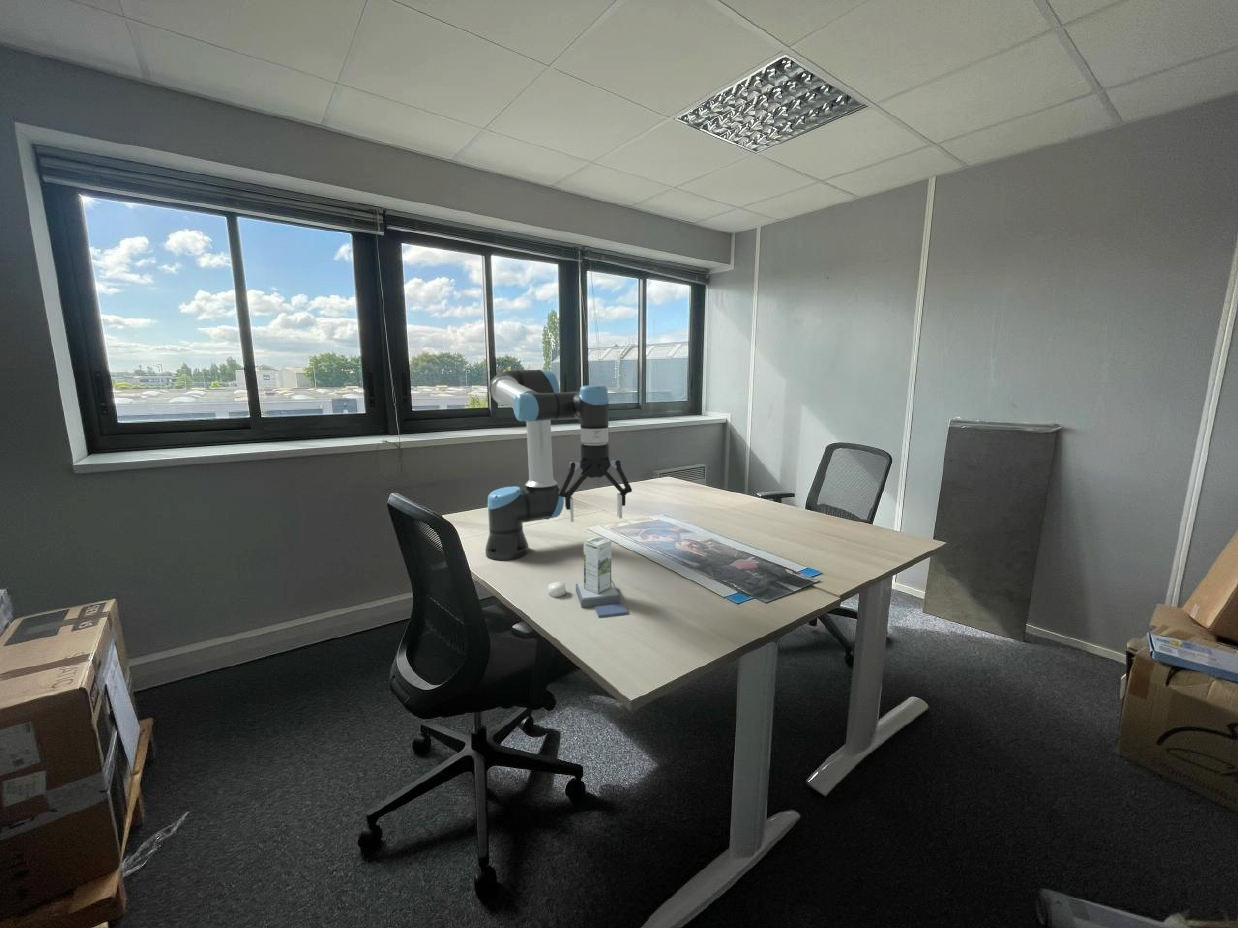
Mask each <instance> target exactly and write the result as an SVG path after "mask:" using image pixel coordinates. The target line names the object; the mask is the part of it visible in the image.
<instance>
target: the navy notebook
mask: <svg viewBox="0 0 1238 928" xmlns="http://www.w3.org/2000/svg"><path fill="white" fill-rule="evenodd" d="M594 609H595V613H596V615H597V617H598V618H607V617H615V616H623V615H629V611H628V608H627V607H626V605H625V603H624V602H623V603H618V604H609V605H601V606H594Z"/></svg>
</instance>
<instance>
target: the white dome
mask: <svg viewBox="0 0 1238 928" xmlns="http://www.w3.org/2000/svg"><path fill="white" fill-rule="evenodd" d="M547 592H548V593H547V594H548V596H549V597H551V598H559V597H562V596H565V595H566V593H567V590H566V583H565V582H564V581H554V582H551V583H549V584H547Z"/></svg>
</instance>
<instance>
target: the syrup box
mask: <svg viewBox="0 0 1238 928" xmlns="http://www.w3.org/2000/svg"><path fill="white" fill-rule="evenodd" d="M611 580H612V540H610V539H608V538H605V537H602V536H595V537H592V538H590V539H587V540H584V541H583V583H584V589H586V590H589V591H592V592H594V593H597V594H599V593H601V592H603V591H605V590H607V589H609V588H611Z"/></svg>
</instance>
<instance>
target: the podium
mask: <svg viewBox="0 0 1238 928" xmlns="http://www.w3.org/2000/svg"><path fill="white" fill-rule="evenodd" d="M575 592H576V595H577V598H578V602H579V603H580V605H579V606H580V607H581V608H590V607H591V608H592V607H597V606H605V605H613V604H621V602H622V601H621V598H622V597H621V594H620V592H619V590H618V588H617V586H616V585H615V583H614V581H613V579H611V588H609V589H607V590H605V591H603V592H601V593H599V594H597V593H594V592H592V591H589V590H586V589H584V582H577V583H575Z"/></svg>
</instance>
